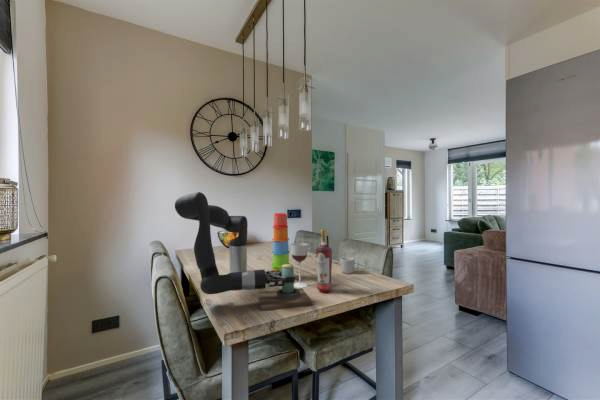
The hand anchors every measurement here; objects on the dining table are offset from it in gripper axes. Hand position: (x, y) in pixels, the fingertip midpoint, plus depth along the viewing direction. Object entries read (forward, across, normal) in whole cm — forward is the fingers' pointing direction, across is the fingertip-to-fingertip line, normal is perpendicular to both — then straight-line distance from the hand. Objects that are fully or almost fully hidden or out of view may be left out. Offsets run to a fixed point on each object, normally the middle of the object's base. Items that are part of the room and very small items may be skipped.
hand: (292, 276), depth 112 cm
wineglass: (+7, +17, +10) cm, 21 cm away
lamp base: (-4, 0, +10) cm, 10 cm away
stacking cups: (0, +31, +10) cm, 32 cm away
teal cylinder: (-2, 0, +8) cm, 8 cm away
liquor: (+16, +6, +10) cm, 20 cm away
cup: (+39, +30, +10) cm, 50 cm away
